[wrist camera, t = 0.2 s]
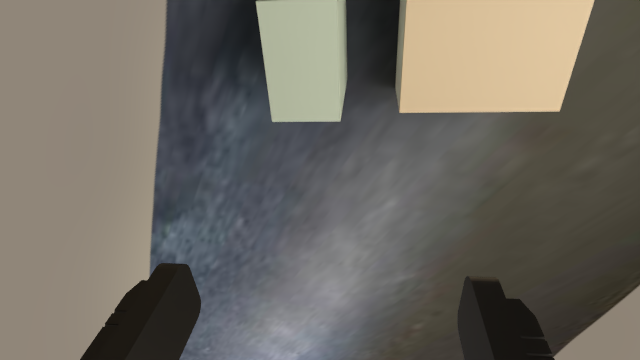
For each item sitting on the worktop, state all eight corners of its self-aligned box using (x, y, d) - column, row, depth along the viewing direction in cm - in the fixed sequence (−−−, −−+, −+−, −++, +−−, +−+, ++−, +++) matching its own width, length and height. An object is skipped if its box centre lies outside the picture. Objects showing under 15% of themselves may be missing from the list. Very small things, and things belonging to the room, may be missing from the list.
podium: (403, -65, 28) (411, -67, 23) (572, -77, 26) (619, -81, 21) (395, 88, 34) (399, 112, 29) (530, 85, 33) (559, 111, 28)
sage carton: (286, -14, 31) (255, 1, 22) (345, -18, 30) (336, -3, 22) (295, 79, 35) (272, 121, 27) (347, 78, 34) (340, 121, 26)
